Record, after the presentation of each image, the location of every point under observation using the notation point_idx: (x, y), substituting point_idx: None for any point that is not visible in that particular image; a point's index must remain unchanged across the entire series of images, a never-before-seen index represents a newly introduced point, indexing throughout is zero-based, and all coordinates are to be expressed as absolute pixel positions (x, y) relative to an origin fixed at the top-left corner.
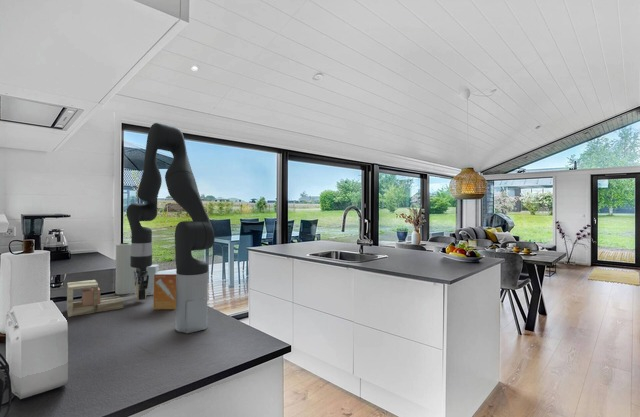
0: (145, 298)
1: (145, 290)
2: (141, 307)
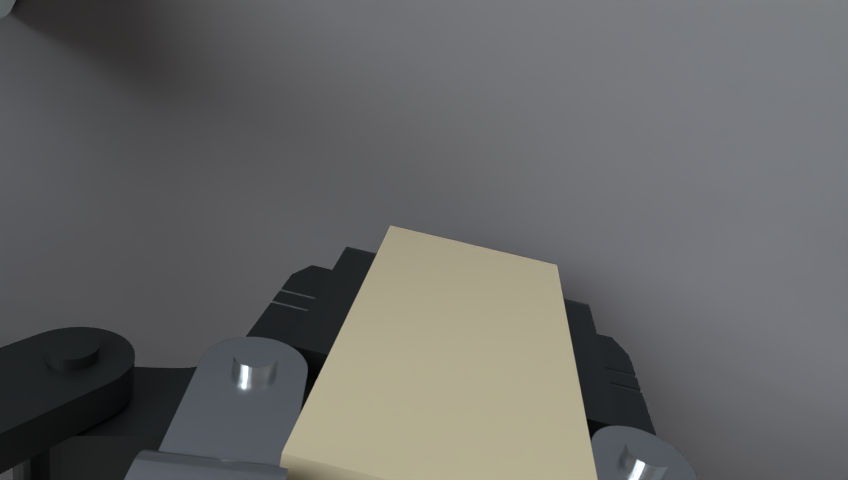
0: (556, 279)
1: (571, 381)
2: (792, 424)
